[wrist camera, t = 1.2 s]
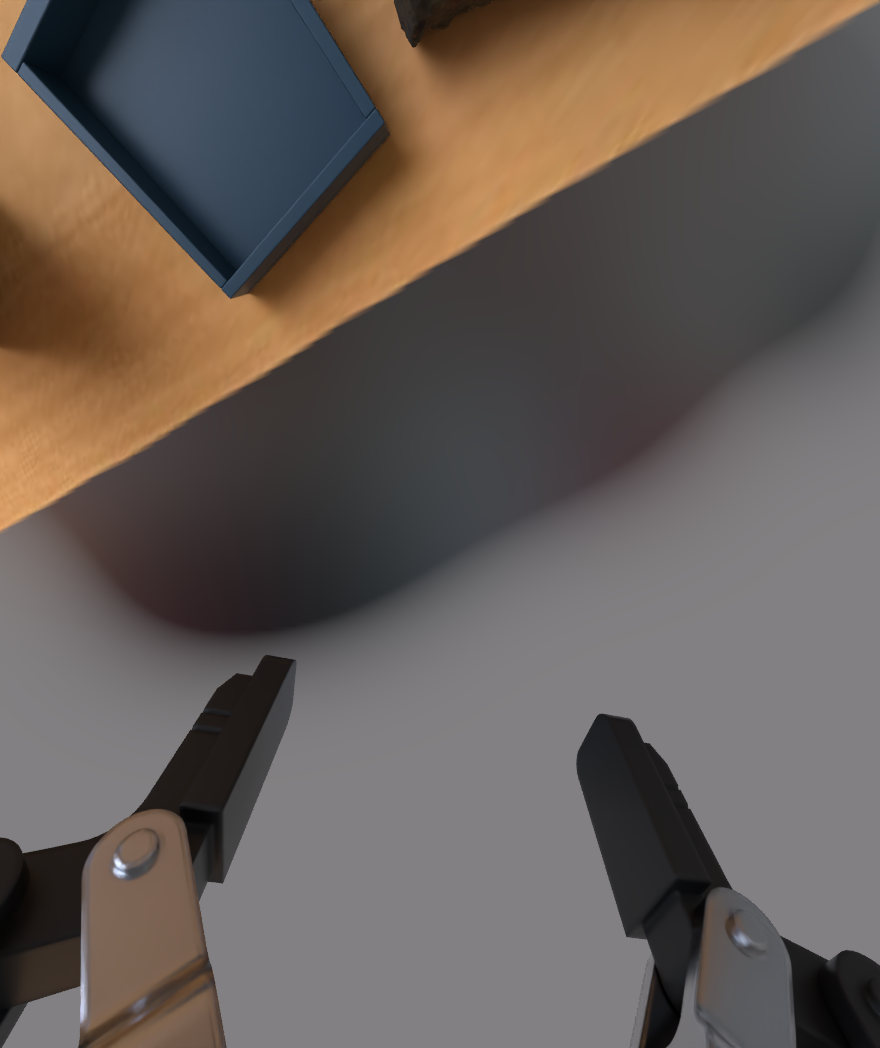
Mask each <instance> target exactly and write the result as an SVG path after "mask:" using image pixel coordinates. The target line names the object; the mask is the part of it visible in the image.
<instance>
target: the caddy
mask: <svg viewBox="0 0 880 1048" xmlns="http://www.w3.org/2000/svg"><path fill="white" fill-rule="evenodd" d="M2 58H3V59H4V60H5V61H6V62H7V63H8V65H9V66H10V67H11V68H12V69H13V70H14V71H15V72H16V73H18V75H19V76H20V77H21V78H22V79H23V80H24V81H25V82H26V83H27V84H28V85H29V86H30V88H31V89H32V90H33V91H34V92H35V93H36V94H37V95H38V96H39V97H40V98H41V99H42V100H43V101H44V102H45V103H46V104H47V105H48V107H49V108H50V109H51V110H52V111H53V112H54V113H55V114H56V115H57V116H58V117H59V118H60V119H61V120H62V121H63V122H64V123H65V125H66V126H67V127H68V128H69V129H70V130H71V131H72V132H73V133H74V134H75V135H76V136H77V137H78V138H79V139H80V140H81V141H82V142H83V144H84V145H85V146H86V147H87V148H88V149H89V150H90V151H91V152H92V153H93V154H94V155H95V156H96V157H97V158H98V159H99V160H100V161H101V163H102V164H103V165H104V166H105V167H106V168H107V169H108V170H109V171H110V172H111V173H112V174H113V175H114V176H115V177H116V178H117V179H118V181H119V182H120V183H121V184H122V185H123V186H124V187H125V188H126V189H127V190H128V191H129V192H130V193H131V194H132V195H133V196H134V197H135V198H136V200H137V201H138V202H139V203H140V204H141V205H142V206H143V207H144V208H145V209H146V210H147V211H148V212H149V213H150V214H151V215H152V216H153V217H154V219H155V220H156V221H157V222H158V223H159V224H160V225H161V226H162V227H163V228H164V229H165V230H166V231H167V232H168V233H169V234H170V235H171V237H172V238H173V239H174V240H175V241H176V242H177V243H178V244H179V245H180V246H181V247H182V248H183V249H184V250H185V251H186V252H187V253H188V254H189V256H190V257H191V258H192V259H193V260H194V261H195V262H196V263H197V264H198V265H199V266H200V267H201V268H202V269H203V270H204V271H205V272H206V273H207V275H208V276H209V277H210V278H211V279H212V280H213V281H214V282H215V283H216V284H217V285H218V286H219V287H220V288H222V291H223V292H224V293H225V294H226V295H227V296H228V297H229V298H230V299H232V298H235V297H239V296H242V295H245V294H249V293H250V292H251V291H252V290H253V288H254V287H255V286H256V285H257V284H258V283H259V282H260V281H261V279H262V278H263V277H264V276H265V275H266V274H267V273H268V272H269V270H270V269H271V268H272V267H273V266H274V265H275V264H276V263H277V261H278V260H279V259H280V258H281V257H282V256H283V255H284V254H285V252H286V251H287V250H288V249H289V248H290V247H291V246H292V245H293V244H294V242H295V241H296V240H297V239H298V238H299V237H300V236H301V235H302V233H303V232H304V231H305V230H306V229H307V228H308V227H309V226H310V224H311V223H312V222H313V221H314V220H315V219H316V218H317V217H318V215H319V214H320V213H321V212H322V211H323V210H324V209H325V208H326V206H327V205H328V204H329V203H330V202H331V201H332V200H333V199H334V198H335V196H336V195H337V194H338V193H339V192H340V191H341V190H342V189H343V187H344V186H345V185H346V184H347V183H348V182H349V181H350V180H351V178H352V177H353V176H354V175H355V174H356V173H357V172H358V171H359V169H360V168H361V167H362V166H363V165H364V164H365V163H366V162H367V160H368V159H369V158H370V157H371V156H372V155H373V154H374V153H375V151H376V150H377V149H378V148H379V147H380V146H381V145H382V144H383V143H384V141H385V140H386V139H387V138H388V137H389V136H390V133H389V130H388V128H387V126H386V123H385V121H384V120H383V118H382V116H381V115H380V113H379V111H378V110H377V109H376V107H375V105H374V103H373V102H372V100H371V99H370V97H369V95H368V94H367V92H366V90H365V89H364V87H363V86H362V84H361V82H360V81H359V79H358V78H357V76H356V74H355V73H354V71H353V69H352V68H351V66H350V65H349V63H348V61H347V60H346V58H345V57H344V55H343V53H342V52H341V50H340V48H339V47H338V45H337V44H336V42H335V40H334V39H333V37H332V36H331V34H330V32H329V31H328V29H327V27H326V26H325V24H324V23H323V21H322V19H321V18H320V16H319V15H318V13H317V11H316V10H315V8H314V6H313V5H312V3H311V2H310V0H27V2H26V4H25V6H24V8H23V10H22V12H21V15H20V17H19V19H18V21H17V23H16V25H15V28H14V30H13V32H12V34H11V36H10V38H9V41H8V43H7V45H6V47H5V49H4V51H3V54H2Z"/></svg>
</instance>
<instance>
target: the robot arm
mask: <svg viewBox="0 0 880 1048" xmlns="http://www.w3.org/2000/svg"><path fill="white" fill-rule="evenodd" d="M295 673H296V660H293V659H287V658H281V657H275V656H270V655H265V656H264V657H263V659H262V660H261V662H260V664H259V665H258V667H257V669H256V671H255V672H254V674H253V676H250V675H243V674H238V673H237V674H235V675H234V676H233V677H232V678H230V679H229V680H228V681H226V682H225V683H224V684H223V685H221V686H220V687H219V688H217V690H216V691H215V693H214V694H213V696H212V698H211V699H210V701H209V702H208V704H207V705H206V707H205V709H204V711H203V713H201V714H200V716H199V718H198V719H197V721H196V722H195V724H194V725H193V728H192V730H190V731H189V733H188V734H187V736H186V738H185V739H184V741H183V742H182V744H181V745H180V747H179V748H178V750H177V751H176V753H175V755H174V757H173V758H172V759H171V761H170V762H169V764H168V765H167V767H166V769H165V770H164V772H163V773H162V775H161V776H160V778H159V779H158V781H157V782H156V784H155V785H154V787H153V789H152V790H151V792H150V793H149V795H148V796H147V798H146V799H145V800H144V802H143V803H142V804H141V805H140V807H139V808H138V809H137V810H136V811H135V812H134V813H133V814H132V815H131V816H129V817H128V818H126V819H124V820H123V821H121V822H119V823H118V824H116V825H115V826H114V827H113V828H111V829H110V830H109V831H107V832H105V833H104V834H101V835H99V836H97V837H94V838H92V839H89V840H85V841H81V842H77V843H72V844H67V845H62V846H57V847H53V848H48V849H43V850H38V851H33V852H28V853H22V851H21V849H20V847H19V845H17V844H16V843H15V842H14V841H12V840H9V839H6V838H0V1048H2V1046H3V1044H4V1043H5V1041H6V1039H7V1038H8V1036H9V1034H10V1032H11V1031H12V1029H13V1027H14V1026H15V1024H16V1022H17V1020H18V1019H19V1017H20V1015H21V1014H22V1012H23V1010H24V1008H25V1007H26V1005H27V1003H28V1002H30V1001H34V1000H37V999H40V998H43V997H47V996H49V995H53V994H56V993H59V992H62V991H66V990H69V989H72V988H76V987H78V986H81V1004H80V1005H81V1006H80V1040H79V1047H78V1048H226V1042H225V1036H224V1030H223V1025H222V1019H221V1013H220V1007H219V1002H218V996H217V990H216V986H215V981H214V975H213V971H212V967H211V964H210V961H209V958H208V952H207V947H206V941H205V935H204V930H203V924H202V918H201V912H200V907H199V900H200V898H201V896H202V893H203V891H204V889H205V886H206V884H207V882H216V883H223V882H224V879H225V877H226V874H227V872H228V870H229V867H230V865H231V862H232V860H233V857H234V855H235V852H236V850H237V847H238V845H239V842H240V840H241V838H242V835H243V833H244V830H245V828H246V825H247V823H248V820H249V818H250V815H251V813H252V810H253V808H254V805H255V803H256V800H257V798H258V796H259V793H260V791H261V788H262V786H263V783H264V781H265V778H266V776H267V774H268V771H269V769H270V766H271V763H272V761H273V759H274V756H275V754H276V751H277V749H278V746H279V744H280V741H281V739H282V736H283V734H284V731H285V729H286V726H287V724H288V720H289V717H290V713H291V709H292V704H293V695H294V684H295ZM576 765H577V774H578V778H579V781H580V785H581V788H582V791H583V795H584V798H585V801H586V805H587V808H588V811H589V814H590V818H591V821H592V825H593V828H594V831H595V834H596V838H597V841H598V844H599V848H600V851H601V854H602V857H603V861H604V864H605V867H606V871H607V874H608V877H609V881H610V884H611V887H612V890H613V894H614V897H615V900H616V904H617V907H618V910H619V914H620V917H621V920H622V924H623V927H624V930H625V934H626V937H632V938H639V939H647V940H648V943H649V946H650V949H651V952H652V954H651V955H650V957H649V959H648V961H647V964H646V969H645V974H644V979H643V984H642V989H641V993H640V998H639V1003H638V1008H637V1014H636V1018H635V1023H634V1028H633V1033H632V1038H631V1043H630V1048H880V965H878V964H877V963H876V962H874V961H873V960H871V959H870V958H868V957H866V956H864V955H862V954H860V953H858V952H854V951H849V950H845V951H842V952H840V953H839V954H838V955H836V956H835V957H834V958H832V959H831V960H830V961H828V960H827V959H824V958H823V957H821V956H819V955H817V954H815V953H813V952H811V951H809V950H807V949H805V948H803V947H801V946H799V945H797V944H795V943H793V942H791V941H789V940H788V939H785V938H783V937H782V936H780V935H779V933H778V932H777V930H776V929H775V927H774V926H773V924H772V923H771V922H770V920H769V919H768V918H767V917H766V916H765V914H764V913H763V912H762V911H761V910H760V909H759V908H758V907H757V906H756V905H755V904H754V903H752V902H751V901H750V900H749V899H747V898H746V897H744V896H743V895H741V894H740V893H738V892H736V891H734V890H733V889H732V888H731V886H730V884H729V882H728V881H727V879H726V877H725V875H724V873H723V871H722V869H721V867H720V865H719V863H718V861H717V859H716V857H715V855H714V854H713V852H712V850H711V848H710V846H709V844H708V842H707V840H706V838H705V836H704V834H703V832H702V830H701V829H700V827H699V825H698V823H697V821H696V819H695V817H694V815H693V813H692V811H691V810H690V809H688V804H687V802H686V800H685V798H684V796H683V794H682V792H681V790H679V789H678V784H677V782H676V780H675V778H674V777H673V775H672V773H671V771H670V769H669V767H668V765H667V763H666V762H665V761H664V760H663V759H662V758H661V756H660V755H659V754H658V753H657V752H656V750H655V749H654V748H653V747H652V746H651V745H650V744H649V743H644V742H643V740H642V738H641V736H640V734H639V732H638V730H637V728H636V726H635V724H634V723H633V721H632V720H631V719H628V718H623V717H618V716H612V715H607V714H599V715H598V716H597V717H596V719H595V720H594V722H593V724H592V726H591V728H590V730H589V732H588V734H587V735H586V737H585V739H584V741H583V743H582V745H581V747H580V749H579V751H578V754H577V764H576Z"/></svg>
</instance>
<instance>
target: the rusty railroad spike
mask: <svg viewBox="0 0 880 1048" xmlns="http://www.w3.org/2000/svg"><path fill="white" fill-rule="evenodd" d="M493 1H494V0H394V4H395V7H396V10H397V13H398V17H399V21H400V24H401V29H402V30H404V31H405V34H406V37H407V39H408V41H409V42H410V44H411V46H412V47H416V46H417V44H418V43H419V42H420V40H421V38H422V37H423V35H424V34H425V32H426V30H428V29H433V30H436V29H445V28H447V27H448V26H449V24H450V22H451V20H452V18H453V17H455V16H456V15H459V14H462V13H466V12H468V11H470V10H473V9H475V8H476V7H481V6H485V5H488V4H490V3H491V2H493Z"/></svg>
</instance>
